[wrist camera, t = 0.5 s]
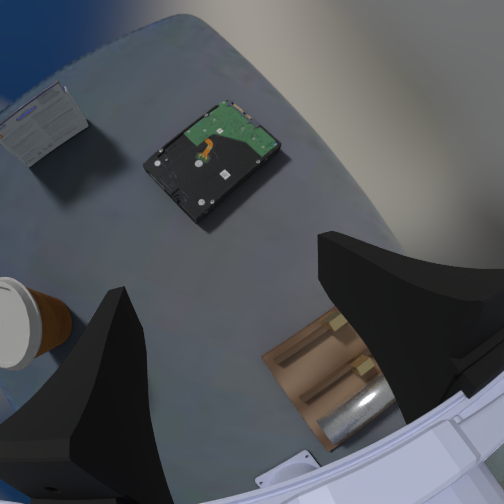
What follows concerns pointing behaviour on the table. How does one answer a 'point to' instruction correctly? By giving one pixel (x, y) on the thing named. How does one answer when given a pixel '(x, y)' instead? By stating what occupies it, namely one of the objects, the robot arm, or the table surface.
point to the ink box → (42, 125)
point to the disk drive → (211, 158)
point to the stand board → (320, 371)
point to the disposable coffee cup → (29, 324)
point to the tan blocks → (362, 362)
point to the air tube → (356, 409)
